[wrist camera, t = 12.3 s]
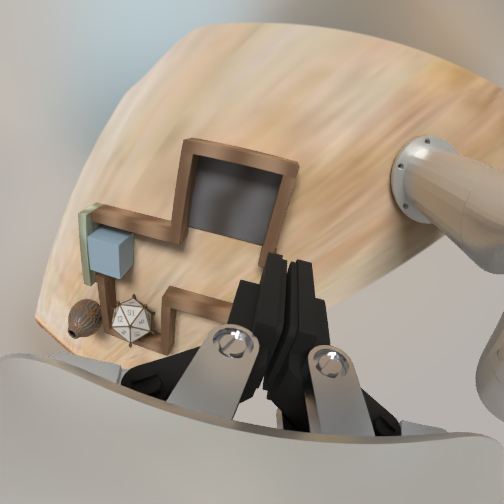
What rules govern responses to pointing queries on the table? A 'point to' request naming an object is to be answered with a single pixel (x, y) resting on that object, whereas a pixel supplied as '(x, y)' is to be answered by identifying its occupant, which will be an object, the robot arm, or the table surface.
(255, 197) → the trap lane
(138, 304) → the game die
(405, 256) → the table surface
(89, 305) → the vase
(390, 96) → the table surface
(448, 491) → the robot arm
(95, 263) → the slate block
